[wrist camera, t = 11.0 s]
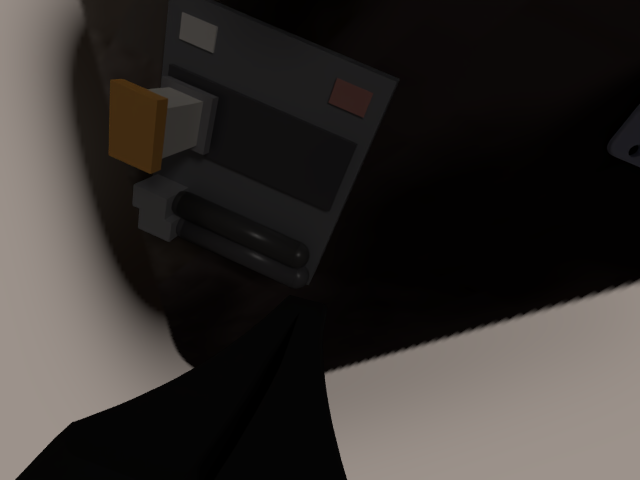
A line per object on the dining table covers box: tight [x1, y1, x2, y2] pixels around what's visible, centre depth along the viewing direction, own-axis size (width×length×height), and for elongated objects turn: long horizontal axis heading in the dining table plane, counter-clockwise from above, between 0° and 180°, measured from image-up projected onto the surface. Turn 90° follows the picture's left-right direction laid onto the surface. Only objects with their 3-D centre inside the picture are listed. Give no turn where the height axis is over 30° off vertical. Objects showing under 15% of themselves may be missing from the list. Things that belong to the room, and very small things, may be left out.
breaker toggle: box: [109, 76, 219, 174], centre depth 14 cm, size 2×3×4 cm
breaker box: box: [132, 0, 400, 289], centre depth 17 cm, size 10×11×5 cm
